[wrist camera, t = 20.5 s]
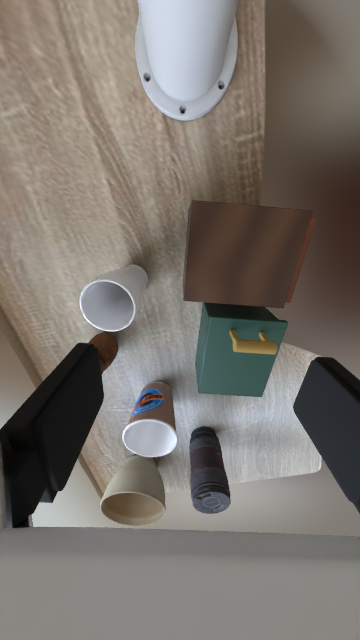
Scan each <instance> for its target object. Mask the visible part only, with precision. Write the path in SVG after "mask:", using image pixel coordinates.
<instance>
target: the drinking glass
mask: <svg viewBox="0 0 360 640" xmlns="http://www.w3.org/2000/svg"><path fill="white" fill-rule="evenodd" d="M147 285H148V275H147V273H146V272H145V270H144V269H143V268H141V267H140V266H138V265H127V266H125V267H123V268H120V269H117V270H113V271H110V272H107V273H104V274H102V275H100V276H99V277H97V278H95V279H94V280H92V281H91V282H90V283H88V284H87V285H86V286H85V287H84V289H83V290H82V292H81V295H80V308H81V311H82V313H83V315H84V317H85V318H86V319H87V321H88V322H89V323H91V324H92V325H93V326H95V327H96V328H98V329H101V330H104V331H111V332H112V331H119V330H122V329H124V328H126V327H128V326H129V325H130V324H131V323H132V321H133V320H134V318H135V317H136V315H137V314H138V312H139V310H140V307H141V305H142V302H143V298H144V294H145V290H146V288H147Z"/></svg>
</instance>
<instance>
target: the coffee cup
mask: <svg viewBox="0 0 360 640" xmlns="http://www.w3.org/2000/svg"><path fill="white" fill-rule="evenodd" d="M123 442H124V444H125V446H126V447H127V448H128V449H129V450H130V451H132V452H133V453H135V454H137V455H140V456H145V457H159V456H163V455H166V454H168V453H170V452H171V451H172V450H173V449H174V448H175V447H176V445H177V443H178V435H177V433H176V426H175V417H174V407H173V397H172V392H171V389H170V388H169V386H168V385H166V384H165V383H162V382H157V381H156V382H151V383H148V384H147V385H146V386H145V387H144V388H143V390H142V392H141V394H140V396H139V398H138V400H137V402H136V405H135V407H134V410H133V414H132V416H131V418H130V421H129V423H128V426H127V427H126V428H125V430H124V432H123Z"/></svg>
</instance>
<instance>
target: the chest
mask: <svg viewBox="0 0 360 640" xmlns="http://www.w3.org/2000/svg"><path fill="white" fill-rule="evenodd" d="M210 315H218V316H232V317H245V318H259V319H273V320H278V319H277V318H276V317H275V316H274V315H273V314H272V313H271V312H269V310H267V309H266V308H265V307H261V306H248V305H234V304H221V303H207V302H203V308H202V316H201V323H200V331H199V339H198V346H197V354H196V362H195V364H196V373H197V383H198V389H199V383H200V376H201V370H202V364H203V358H204V351H205V345H206V339H207V332H208V326H209V320H210Z"/></svg>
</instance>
